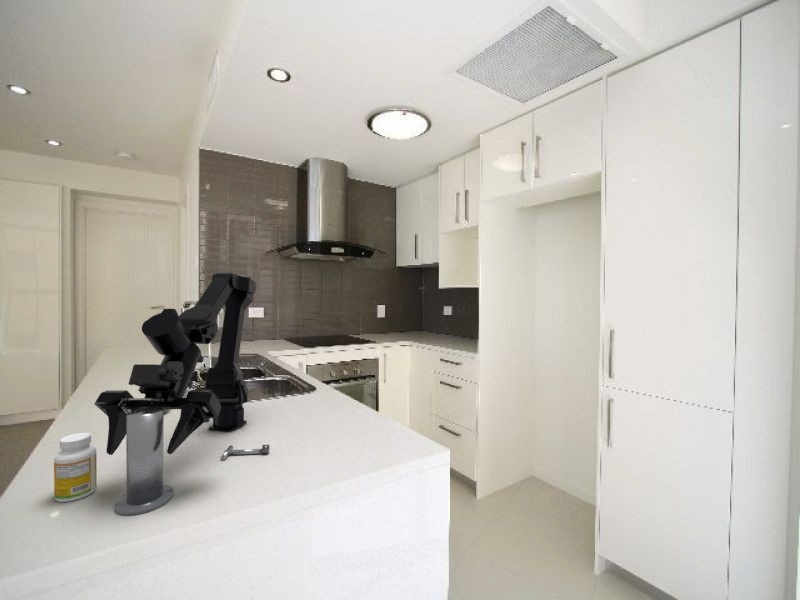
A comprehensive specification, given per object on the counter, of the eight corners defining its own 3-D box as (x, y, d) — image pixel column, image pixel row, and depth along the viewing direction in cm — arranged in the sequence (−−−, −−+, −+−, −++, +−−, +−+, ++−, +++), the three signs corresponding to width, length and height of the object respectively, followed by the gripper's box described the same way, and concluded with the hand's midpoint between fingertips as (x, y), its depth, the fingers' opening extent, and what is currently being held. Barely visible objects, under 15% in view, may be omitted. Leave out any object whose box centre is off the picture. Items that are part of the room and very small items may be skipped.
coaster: (100, 511, 57) (100, 507, 57) (146, 485, 65) (146, 481, 65) (143, 518, 56) (143, 515, 56) (184, 491, 64) (184, 487, 64)
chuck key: (220, 460, 75) (220, 451, 75) (228, 450, 80) (228, 441, 80) (265, 458, 76) (266, 449, 76) (271, 448, 81) (271, 440, 81)
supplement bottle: (71, 486, 65) (71, 431, 65) (104, 485, 65) (104, 430, 65) (45, 503, 59) (44, 443, 59) (80, 502, 60) (80, 443, 60)
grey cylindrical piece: (119, 500, 59) (119, 413, 59) (152, 486, 64) (152, 405, 64) (137, 508, 57) (137, 418, 57) (170, 493, 62) (170, 409, 62)
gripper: (102, 344, 63) (44, 432, 53) (213, 344, 64) (180, 431, 54) (132, 378, 71) (88, 461, 61) (231, 378, 72) (205, 459, 62)
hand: (139, 453), depth 59 cm, fingers open, 9 cm apart
